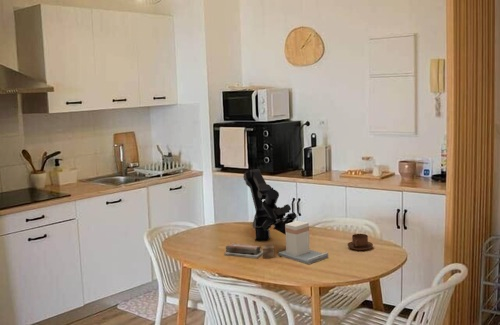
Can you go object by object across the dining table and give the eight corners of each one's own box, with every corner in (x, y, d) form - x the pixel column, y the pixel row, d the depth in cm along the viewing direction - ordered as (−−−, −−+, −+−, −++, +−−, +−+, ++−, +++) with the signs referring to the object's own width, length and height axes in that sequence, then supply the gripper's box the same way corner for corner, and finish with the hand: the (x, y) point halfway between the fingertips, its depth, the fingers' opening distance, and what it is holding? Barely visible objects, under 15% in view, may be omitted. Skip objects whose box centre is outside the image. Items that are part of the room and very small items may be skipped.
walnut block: (263, 258, 267) (262, 248, 266) (263, 255, 272) (262, 245, 271) (274, 258, 267) (273, 247, 266) (273, 254, 272) (273, 244, 271)
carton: (286, 253, 270) (285, 224, 268) (299, 248, 275) (298, 220, 273) (296, 256, 264) (295, 226, 262) (309, 251, 270) (308, 222, 268)
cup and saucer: (373, 252, 269) (372, 239, 268) (347, 251, 271) (346, 239, 270) (372, 244, 280) (372, 232, 279) (347, 244, 283) (347, 232, 282)
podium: (278, 255, 271) (277, 250, 271) (297, 248, 279) (297, 244, 279) (308, 264, 256) (308, 259, 255) (328, 257, 264) (328, 252, 264)
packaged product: (222, 246, 275) (232, 240, 283) (223, 256, 275) (233, 250, 284) (256, 249, 267) (265, 243, 275) (257, 259, 267) (266, 253, 276)
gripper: (264, 203, 269) (282, 230, 262) (293, 196, 280) (310, 221, 274) (254, 217, 276) (271, 243, 269) (283, 209, 288) (299, 234, 281)
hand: (288, 235), depth 273 cm, fingers closed
